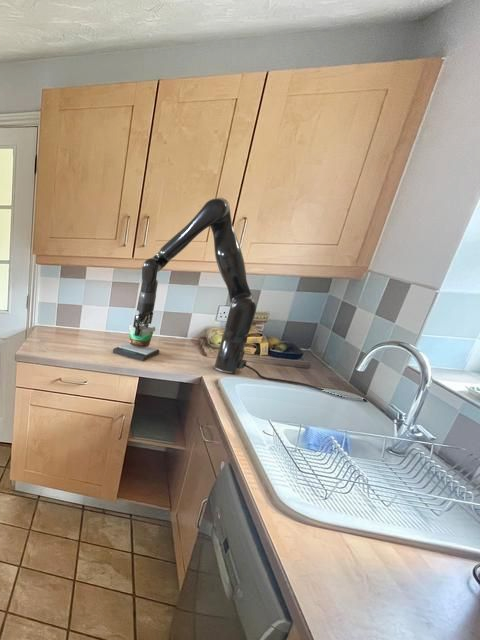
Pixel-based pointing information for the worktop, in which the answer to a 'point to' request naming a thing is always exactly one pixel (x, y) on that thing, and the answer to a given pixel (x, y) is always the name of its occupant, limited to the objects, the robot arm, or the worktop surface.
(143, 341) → the food container
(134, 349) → the scale
